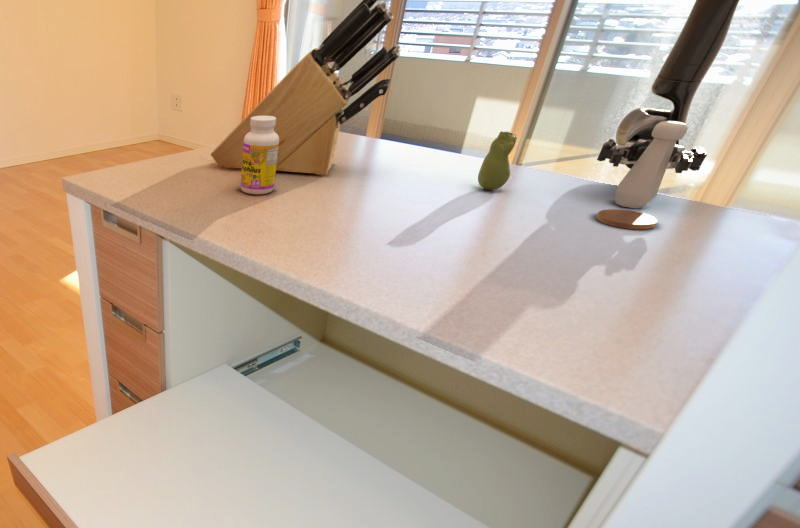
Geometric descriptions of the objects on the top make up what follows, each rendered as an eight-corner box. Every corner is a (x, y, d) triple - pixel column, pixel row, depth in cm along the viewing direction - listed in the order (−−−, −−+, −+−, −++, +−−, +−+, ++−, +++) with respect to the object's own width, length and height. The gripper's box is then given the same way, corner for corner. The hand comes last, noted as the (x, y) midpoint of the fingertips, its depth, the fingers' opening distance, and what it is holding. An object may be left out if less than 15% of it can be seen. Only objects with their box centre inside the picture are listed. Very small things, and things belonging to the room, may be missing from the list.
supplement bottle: (233, 190, 108) (237, 117, 100) (256, 184, 111) (262, 113, 103) (257, 197, 103) (264, 122, 95) (280, 191, 107) (289, 117, 99)
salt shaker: (605, 204, 95) (648, 121, 87) (613, 197, 98) (656, 117, 90) (644, 212, 92) (693, 127, 84) (652, 205, 95) (699, 122, 87)
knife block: (372, 180, 111) (414, -12, 92) (209, 168, 121) (215, -7, 102) (376, 167, 119) (414, -12, 100) (223, 157, 130) (231, -7, 110)
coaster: (654, 218, 89) (657, 214, 89) (654, 233, 84) (657, 227, 84) (597, 211, 93) (599, 206, 93) (594, 224, 88) (596, 219, 88)
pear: (475, 184, 108) (493, 127, 101) (504, 187, 106) (525, 129, 99) (473, 191, 104) (491, 133, 98) (503, 194, 102) (525, 135, 96)
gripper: (613, 118, 100) (609, 133, 90) (712, 125, 93) (719, 142, 83) (594, 162, 105) (587, 181, 94) (686, 171, 98) (691, 193, 88)
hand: (649, 163), depth 89 cm, fingers open, 8 cm apart
